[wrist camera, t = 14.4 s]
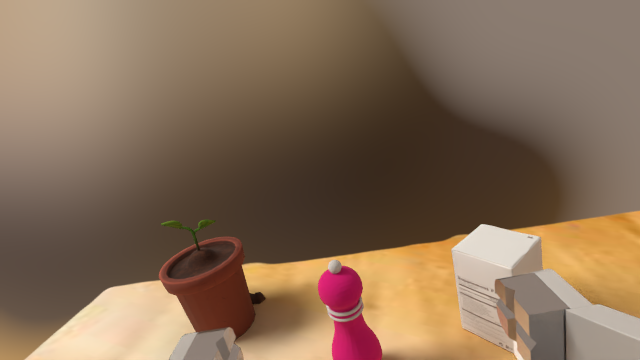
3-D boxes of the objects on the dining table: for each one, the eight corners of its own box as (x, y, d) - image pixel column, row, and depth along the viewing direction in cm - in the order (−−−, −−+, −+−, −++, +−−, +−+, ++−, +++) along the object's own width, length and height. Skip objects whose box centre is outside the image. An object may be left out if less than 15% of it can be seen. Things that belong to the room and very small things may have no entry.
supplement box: (488, 297, 58) (481, 221, 54) (546, 320, 51) (543, 235, 46) (459, 328, 53) (449, 248, 49) (518, 358, 46) (512, 267, 42)
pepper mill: (396, 369, 49) (371, 253, 43) (366, 407, 45) (334, 284, 39) (359, 347, 54) (332, 242, 48) (329, 380, 50) (295, 268, 44)
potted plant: (172, 370, 59) (114, 250, 52) (191, 299, 80) (151, 205, 72) (268, 336, 62) (226, 217, 54) (263, 275, 82) (231, 183, 75)
